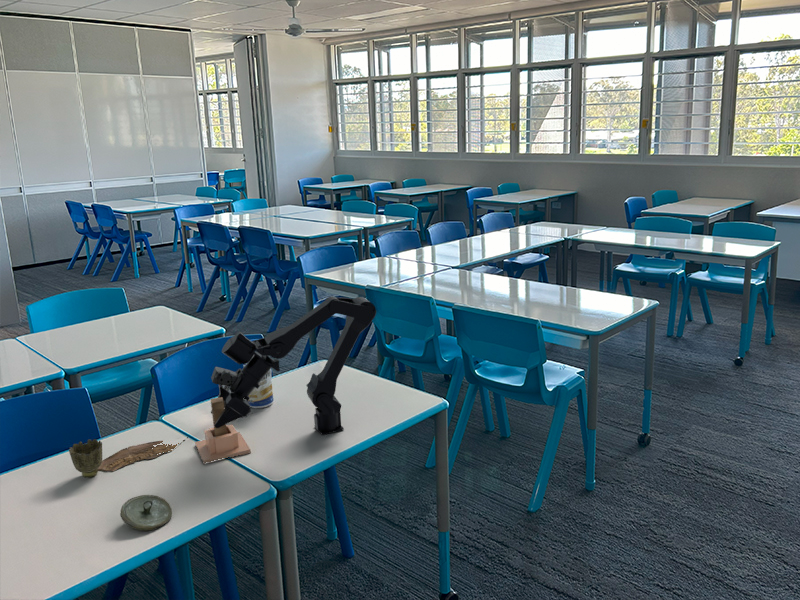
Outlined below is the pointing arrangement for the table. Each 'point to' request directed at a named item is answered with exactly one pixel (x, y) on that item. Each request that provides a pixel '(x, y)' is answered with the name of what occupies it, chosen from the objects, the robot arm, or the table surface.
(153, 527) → the lid
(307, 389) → the robot arm
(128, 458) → the wooden fragment
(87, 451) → the cup
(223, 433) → the brown wooden block
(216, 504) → the table surface
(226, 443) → the terracotta holder
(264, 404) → the beverage bottle
